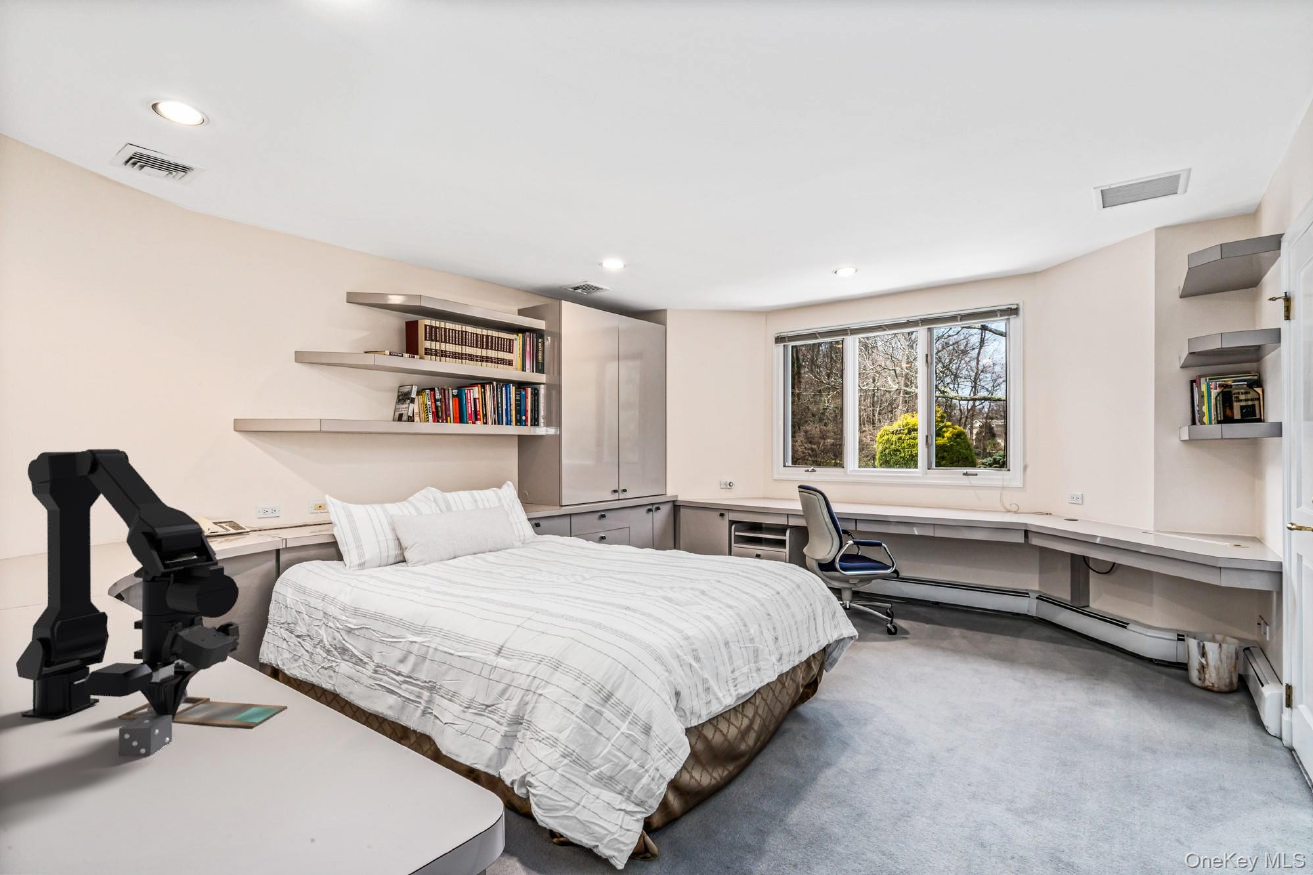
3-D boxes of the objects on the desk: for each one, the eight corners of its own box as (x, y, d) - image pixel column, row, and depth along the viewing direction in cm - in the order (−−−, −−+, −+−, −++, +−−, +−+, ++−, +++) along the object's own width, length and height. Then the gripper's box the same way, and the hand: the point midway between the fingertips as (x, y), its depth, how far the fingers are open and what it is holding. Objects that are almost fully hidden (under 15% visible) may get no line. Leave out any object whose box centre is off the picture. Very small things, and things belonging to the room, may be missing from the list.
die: (117, 759, 83) (117, 727, 83) (141, 744, 87) (141, 714, 87) (151, 759, 83) (151, 727, 83) (173, 743, 88) (173, 713, 88)
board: (163, 721, 94) (163, 719, 94) (202, 702, 101) (202, 700, 101) (253, 727, 92) (253, 725, 92) (287, 708, 99) (287, 706, 99)
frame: (117, 720, 95) (117, 716, 95) (165, 698, 103) (165, 695, 103) (165, 723, 94) (165, 719, 94) (209, 701, 102) (209, 697, 102)
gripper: (159, 632, 78) (159, 758, 78) (269, 595, 97) (269, 697, 97) (80, 629, 80) (80, 753, 80) (203, 593, 98) (203, 694, 98)
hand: (167, 721), depth 89 cm, fingers closed
